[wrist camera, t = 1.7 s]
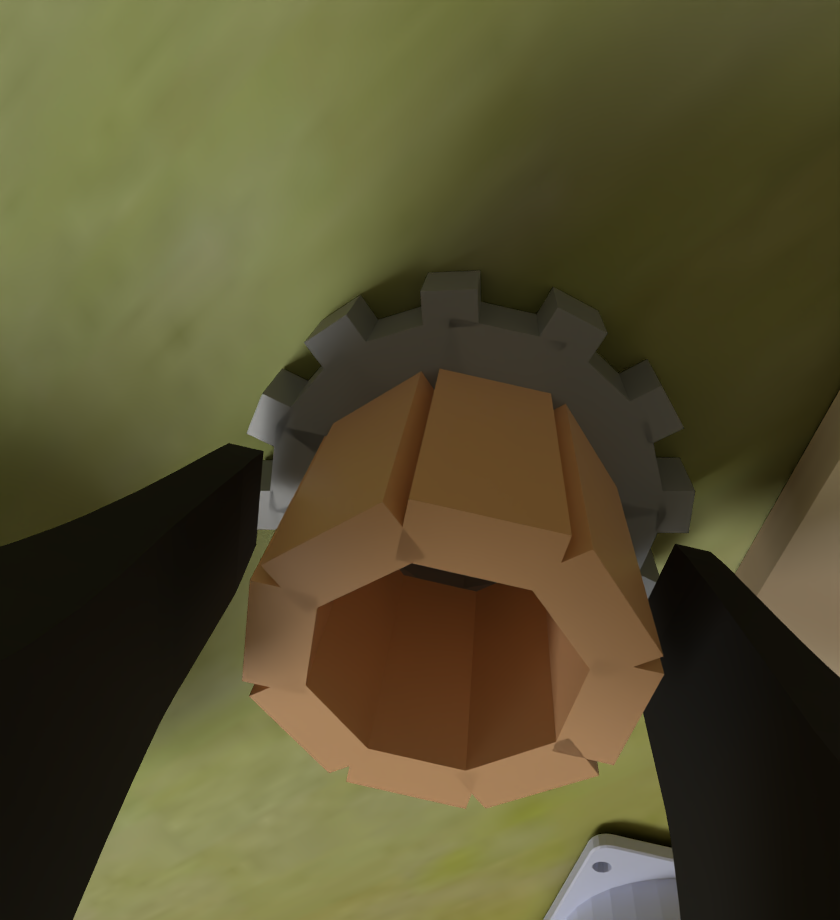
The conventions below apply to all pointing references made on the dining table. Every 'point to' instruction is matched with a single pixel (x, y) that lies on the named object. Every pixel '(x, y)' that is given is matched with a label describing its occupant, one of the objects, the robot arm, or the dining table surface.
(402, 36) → the dining table surface
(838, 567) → the carrier
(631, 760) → the dining table surface
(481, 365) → the planet gear
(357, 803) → the dining table surface
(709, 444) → the dining table surface
